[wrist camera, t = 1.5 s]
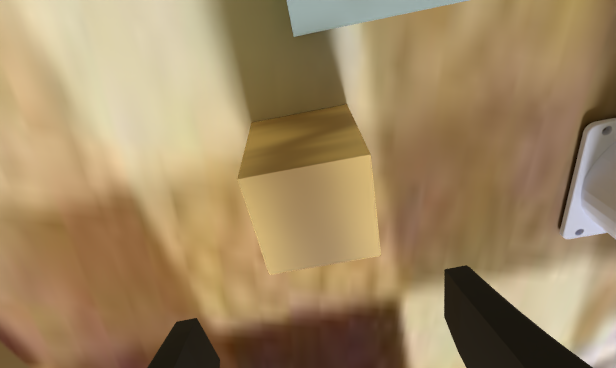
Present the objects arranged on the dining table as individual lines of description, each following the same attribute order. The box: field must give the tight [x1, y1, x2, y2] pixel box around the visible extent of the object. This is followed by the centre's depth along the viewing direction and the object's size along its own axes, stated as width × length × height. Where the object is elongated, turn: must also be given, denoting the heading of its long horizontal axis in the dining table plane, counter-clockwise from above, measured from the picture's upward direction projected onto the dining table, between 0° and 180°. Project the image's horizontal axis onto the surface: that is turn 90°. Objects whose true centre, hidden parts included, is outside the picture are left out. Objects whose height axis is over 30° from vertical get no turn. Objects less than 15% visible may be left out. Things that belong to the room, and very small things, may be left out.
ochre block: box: [237, 104, 381, 275], centre depth 17 cm, size 5×5×6 cm
